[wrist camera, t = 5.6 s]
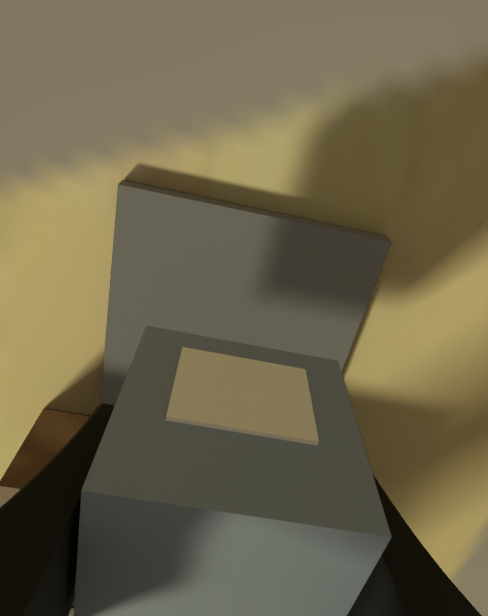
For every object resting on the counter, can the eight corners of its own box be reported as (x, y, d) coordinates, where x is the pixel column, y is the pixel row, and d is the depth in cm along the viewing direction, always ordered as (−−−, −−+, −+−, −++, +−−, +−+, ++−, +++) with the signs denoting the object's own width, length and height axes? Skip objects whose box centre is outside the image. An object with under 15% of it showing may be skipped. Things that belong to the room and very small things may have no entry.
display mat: (104, 395, 19) (100, 404, 18) (122, 180, 15) (118, 184, 14) (313, 430, 20) (315, 440, 19) (386, 236, 16) (391, 241, 15)
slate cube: (128, 465, 14) (71, 656, 9) (146, 322, 11) (81, 486, 7) (289, 490, 14) (307, 683, 10) (339, 357, 12) (394, 533, 7)
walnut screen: (43, 434, 20) (-1, 513, 16) (43, 408, 19) (-3, 485, 16) (348, 482, 21) (369, 566, 18) (359, 460, 20) (382, 542, 17)
